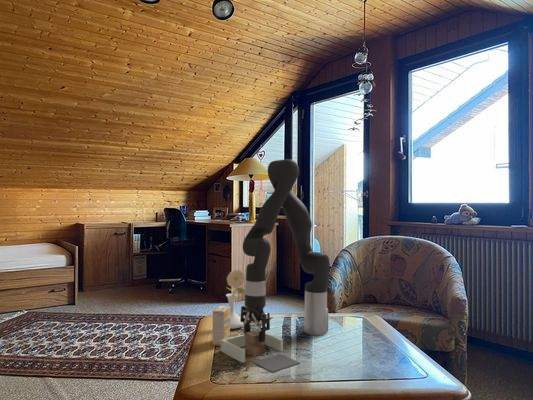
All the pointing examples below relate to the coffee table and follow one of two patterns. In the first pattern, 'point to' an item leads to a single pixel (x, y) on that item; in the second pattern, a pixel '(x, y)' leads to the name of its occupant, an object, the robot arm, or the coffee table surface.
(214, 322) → the supplement box
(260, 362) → the charcoal mat
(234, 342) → the open-side box
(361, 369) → the coffee table surface
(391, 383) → the coffee table surface
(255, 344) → the walnut block
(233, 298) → the flower in vase
